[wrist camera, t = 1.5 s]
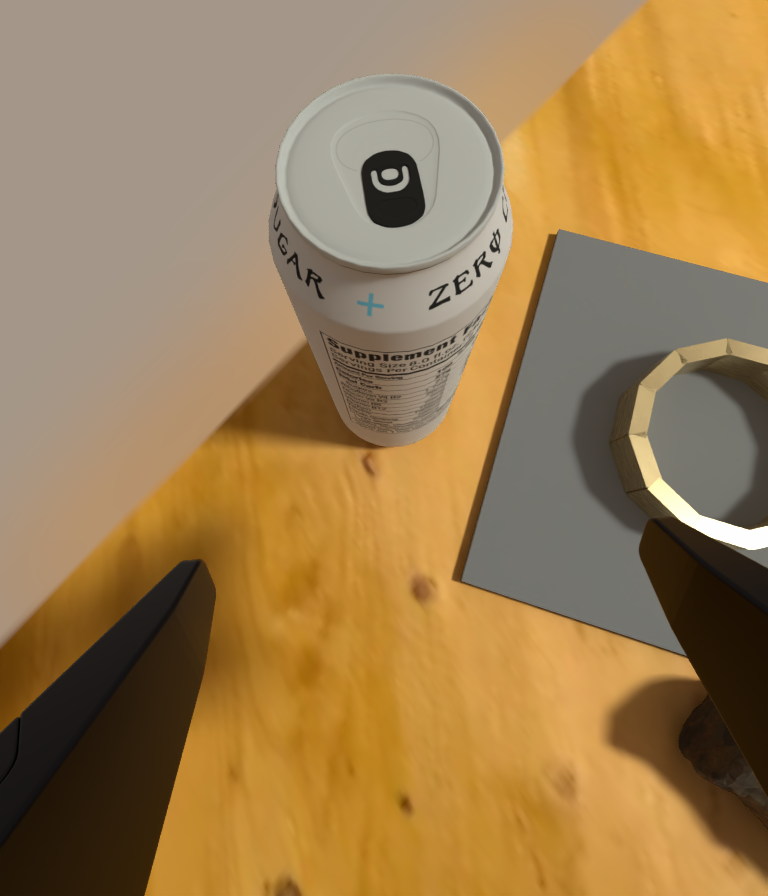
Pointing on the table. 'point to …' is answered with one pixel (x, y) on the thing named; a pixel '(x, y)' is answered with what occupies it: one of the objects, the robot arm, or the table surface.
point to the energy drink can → (390, 245)
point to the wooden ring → (634, 451)
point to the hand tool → (721, 757)
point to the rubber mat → (590, 424)
